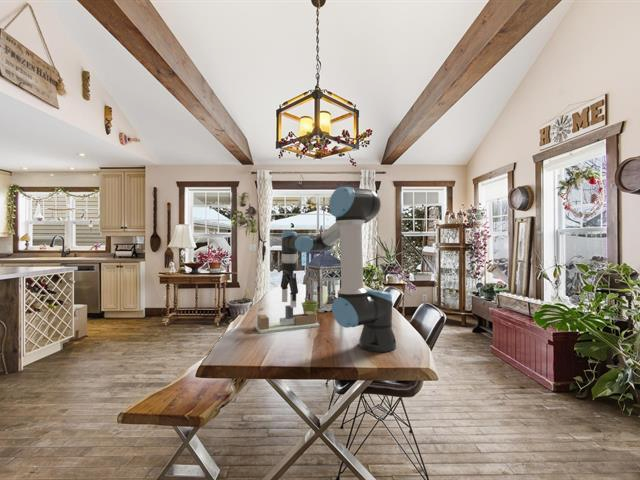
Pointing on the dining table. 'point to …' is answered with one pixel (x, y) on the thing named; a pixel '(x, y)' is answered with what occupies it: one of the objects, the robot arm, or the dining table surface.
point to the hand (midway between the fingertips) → (288, 304)
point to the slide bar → (288, 317)
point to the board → (300, 322)
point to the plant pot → (309, 306)
